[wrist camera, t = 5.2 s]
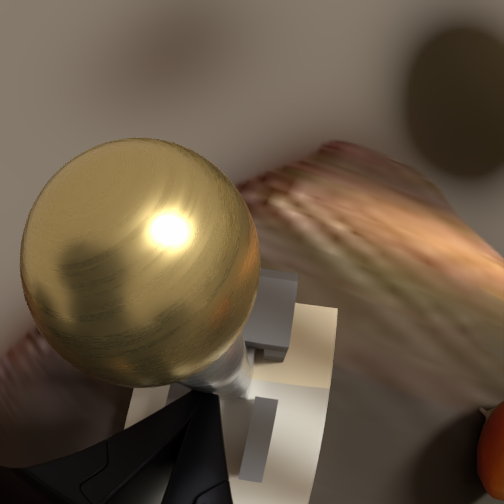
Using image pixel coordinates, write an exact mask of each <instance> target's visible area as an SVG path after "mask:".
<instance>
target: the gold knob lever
mask: <svg viewBox="0 0 504 504" xmlns="http://www.w3.org/2000/svg"><path fill="white" fill-rule="evenodd" d="M260 270H261V262H260V248H259V241H258V236H257V231H256V228H255V225H254V222H253V220H252V217H251V214H250V212H249V209H248V207H247V205H246V203H245V201H244V200H243V198H242V196H241V195H240V193H239V192H238V190H237V188H236V187H235V186H234V185H233V183H232V182H231V181H230V180H229V178H228V177H227V176H226V175H225V174H224V173H223V172H222V171H221V170H220V169H218V168H217V167H216V166H215V165H214V164H213V163H212V162H210V161H209V160H207V159H206V158H204V157H203V156H201V155H199V154H198V153H196V152H195V151H193V150H190V149H188V148H186V147H183V146H181V145H178V144H175V143H173V142H169V141H165V140H159V139H151V138H126V139H119V140H114V141H110V142H106V143H103V144H100V145H97V146H95V147H93V148H90V149H88V150H86V151H84V152H83V153H81V154H79V155H78V156H76V157H74V158H73V159H72V160H70V161H69V162H68V163H66V164H65V165H64V166H63V167H61V168H60V169H59V170H58V171H57V172H56V173H55V174H54V175H53V176H52V178H51V179H50V180H49V181H48V182H47V183H46V185H45V186H44V187H43V189H42V190H41V192H40V194H39V195H38V197H37V199H36V200H35V202H34V204H33V206H32V208H31V210H30V212H29V215H28V218H27V220H26V224H25V228H24V231H23V236H22V240H21V248H20V277H21V282H22V287H23V292H24V297H25V301H26V303H27V306H28V309H29V311H30V313H31V316H32V318H33V320H34V322H35V324H36V326H37V327H38V329H39V331H40V332H41V334H42V335H43V337H44V338H45V339H46V341H47V342H48V343H49V344H50V346H51V347H52V348H53V349H54V350H55V351H56V352H57V353H58V354H59V355H60V356H61V357H62V358H63V359H65V360H66V361H67V362H68V363H70V364H71V365H72V366H73V367H75V368H76V369H78V370H80V371H81V372H83V373H85V374H87V375H89V376H91V377H93V378H95V379H97V380H100V381H103V382H106V383H109V384H112V385H118V386H124V387H131V388H153V387H159V386H165V385H170V384H173V383H179V384H181V385H183V386H186V387H188V388H191V389H193V390H196V391H199V392H204V393H214V394H218V395H219V397H220V400H224V401H229V400H234V399H237V398H238V399H244V400H248V395H249V390H250V385H251V380H252V375H253V370H254V365H255V359H256V354H257V349H258V348H253V347H247V346H245V342H244V337H243V333H242V329H243V328H244V326H245V324H246V322H247V321H248V318H249V316H250V314H251V311H252V309H253V307H254V303H255V300H256V296H257V292H258V286H259V278H260Z"/></svg>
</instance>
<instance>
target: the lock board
mask: <svg viewBox="0 0 504 504" xmlns="http://www.w3.org/2000/svg"><path fill="white" fill-rule="evenodd" d="M298 277H299V274H297V273H290V272H283V271H276V270H269V269H262V268H261V270H260V278H259V286H258V292H257V296H256V300H255V303H254V307H253V309H252V311H251V314H250V316H249V318H248V321H247V322H246V324H245V326H244V328H243V329H242V333H243V337H244V342H245V346H247V347H253V348H258V349H257V354H256V359H255V365H254V370H253V375H252V380H251V385H250V390H249V395H248V400H244V399H238V398H237V399H234V400H229V401H224V400H220V406H221V416H222V425H223V434H224V443H225V451H226V459H227V467H228V474H229V481H230V488H231V494H232V499H233V504H308V502H309V498H310V494H311V490H312V485H313V481H314V476H315V472H316V467H317V462H318V457H319V452H320V447H321V441H322V436H323V430H324V424H325V418H326V411H327V405H328V398H329V390H330V383H331V374H332V366H333V357H334V347H335V336H336V324H337V310H338V309H337V308H329V307H321V306H313V305H306V304H299V303H295V301H296V293H297V285H298ZM191 390H193V389H191V388H188V387H186V386H183V385H181V384H179V383H173V384H170V385H165V386H159V387H153V388H134V390H133V394H132V398H131V402H130V406H129V410H128V414H127V419H126V423H125V427H124V429H126V428H128V427H130V426H132V425H133V424H135V423H137V422H139V421H141V420H142V419H144V418H146V417H148V416H149V415H151V414H153V413H155V412H156V411H158V410H160V409H161V408H163V407H165V406H166V405H168V404H170V403H171V402H173V401H175V400H176V399H178V398H180V397H181V396H183V395H185V394H186V393H188V392H189V391H191Z"/></svg>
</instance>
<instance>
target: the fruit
mask: <svg viewBox="0 0 504 504" xmlns="http://www.w3.org/2000/svg"><path fill="white" fill-rule="evenodd" d="M479 410H480V411H481V412H482V413H483V414H484V415H485V418H486V421H485V423H484V425H483V427H482V431H481V435H480V438H479V442H478V446H477V473H478V476H479V478H480V480H481V482H482V484H483V486H484V488H485V490H486V491H487V493H488V494H489V495H490V496H491V497H493V498H495V499H498V500H503V501H504V401H503V402H501V403H500V404H499V405H497V406H496V407H494V408H492V409H491V410H487V411H486V410H485V409H483V408H482V407H481V408H479Z"/></svg>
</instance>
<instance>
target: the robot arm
mask: <svg viewBox="0 0 504 504" xmlns="http://www.w3.org/2000/svg"><path fill="white" fill-rule="evenodd" d="M0 504H233V499H232V494H231V488H230V481H229V474H228V467H227V459H226V451H225V443H224V434H223V425H222V416H221V406H220V397H219V395H218V394H214V393H204V392H199V391H196V390H191V391H189V392H188V393H186V394H185V395H183V396H181V397H180V398H178V399H176V400H175V401H173V402H171V403H170V404H168V405H166V406H165V407H163V408H161V409H160V410H158V411H156V412H155V413H153V414H151V415H149V416H148V417H146V418H144V419H142V420H141V421H139V422H137V423H135V424H133V425H132V426H130V427H128V428H126V429H124V430H122V431H121V432H119V433H117V434H115V435H113V436H111V437H109V438H108V439H107V440H106V439H105V440H103V441H101V442H99V443H97V444H95V445H93V446H91V447H89V448H86V449H84V450H82V451H79V452H77V453H74V454H71V455H68V456H65V457H62V458H59V459H56V460H52V461H49V462H46V463H42V464H38V465H35V466H30V467H25V468H9V467H4V466H0Z"/></svg>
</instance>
